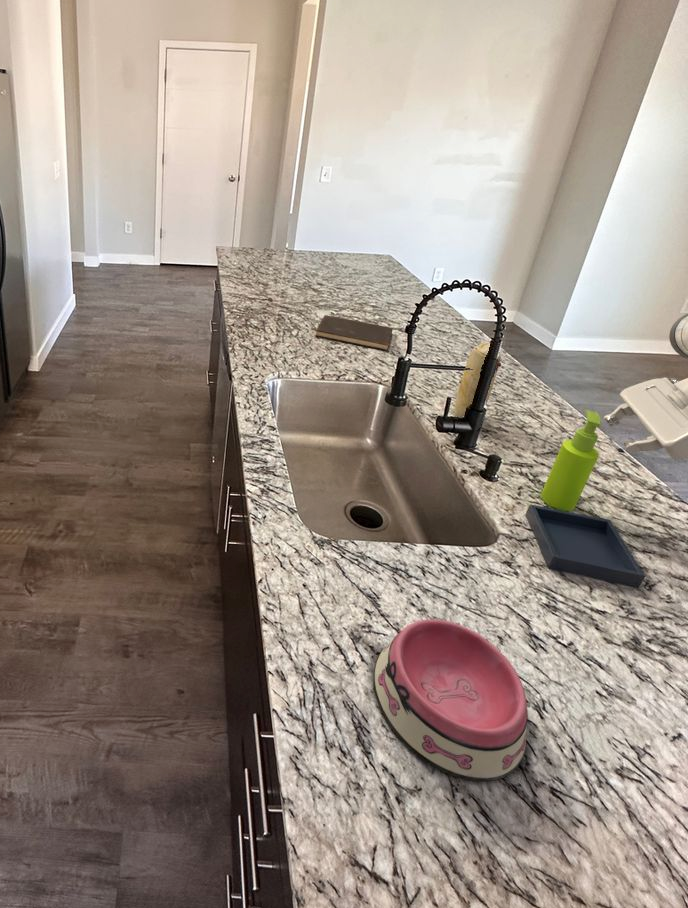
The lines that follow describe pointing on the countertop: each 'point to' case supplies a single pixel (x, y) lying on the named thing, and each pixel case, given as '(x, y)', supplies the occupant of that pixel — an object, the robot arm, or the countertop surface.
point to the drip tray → (583, 546)
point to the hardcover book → (354, 332)
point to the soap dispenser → (572, 467)
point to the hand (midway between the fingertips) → (616, 434)
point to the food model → (472, 379)
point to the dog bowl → (453, 700)
